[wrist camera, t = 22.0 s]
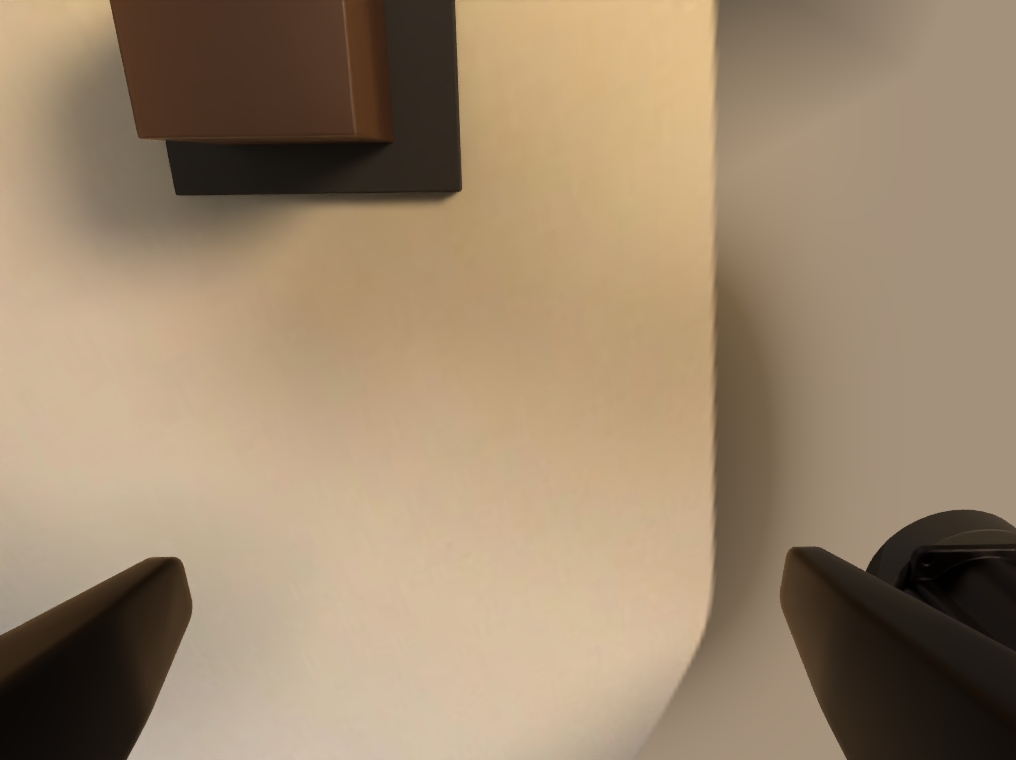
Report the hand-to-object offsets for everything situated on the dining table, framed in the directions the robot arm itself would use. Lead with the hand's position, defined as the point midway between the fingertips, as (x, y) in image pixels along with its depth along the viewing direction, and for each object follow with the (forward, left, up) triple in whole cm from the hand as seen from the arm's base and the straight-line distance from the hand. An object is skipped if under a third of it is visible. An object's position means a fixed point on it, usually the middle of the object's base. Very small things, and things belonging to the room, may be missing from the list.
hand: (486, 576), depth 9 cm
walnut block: (+6, -9, -12) cm, 16 cm away
